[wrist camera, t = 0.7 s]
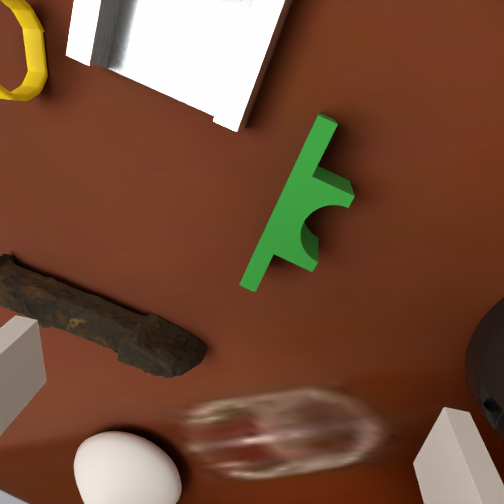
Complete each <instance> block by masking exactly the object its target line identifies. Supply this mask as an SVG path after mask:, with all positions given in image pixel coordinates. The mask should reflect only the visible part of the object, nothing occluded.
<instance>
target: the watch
mask: <svg viewBox="0 0 504 504" xmlns="http://www.w3.org/2000/svg"><path fill="white" fill-rule="evenodd" d="M1 1H2V2H3V3H4V4H6V5H7V6H8V7H9V8H10V9H11V10H12V11H13V13H14V15H15V16H16V18H17V20H18V21H19V23H20V25H21V26H22V28H23V36H24V44H25V51H26V59H27V67H28V72H27V75H26V77H25V79H24V81H23V83H22V85H21V86H20V87H18V88H17V89H15V90H13V91H12V92H9V91H8V90H6V89H5V88H4V87H2V86H1V85H0V98H2V99H9V100H19V101H27V100H28V101H29V100H31V99H32V98H34V97H35V96H36V95H38V94H39V93H40V92H41V91H42V89H43V87H44V84H45V82H46V80H47V78H48V72H47V63H46V54H45V45H44V36H43V32H44V29H43V27H42V25H41V23H40V21H39V20H38V18H37V16H36V14H35V12H34V10H33V9H32V8H31V6H30V5H29V4H28V3H27V2H26V1H25V0H1Z"/></svg>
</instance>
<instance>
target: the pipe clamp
mask: <svg viewBox="0 0 504 504" xmlns="http://www.w3.org/2000/svg"><path fill="white" fill-rule="evenodd" d="M337 125H338V124H337V122H336V121H335V120H334V119H332V118H330V117H328V116H326V115H324V114H321V113H318V115H317V118H316V120H315V122H314V124H313V126H312V128H311V130H310V133H309V135H308V137H307V139H306V141H305V143H304V146H303V148H302V150H301V152H300V154H299V156H298V158H297V161H296V163H295V165H294V167H293V169H292V171H291V173H290V176H289V178H288V180H287V182H286V184H285V186H284V189H283V191H282V193H281V195H280V197H279V199H278V201H277V204H276V206H275V208H274V210H273V212H272V214H271V216H270V219H269V221H268V223H267V225H266V227H265V229H264V232H263V234H262V236H261V238H260V240H259V242H258V244H257V247H256V249H255V251H254V253H253V255H252V257H251V260H250V262H249V264H248V266H247V269H246V271H245V273H244V275H243V278H242V280H241V282H240V284H239V285H240V286H243V287H245V288H247V289H249V290H251V291H253V292H255V291H256V289H257V287H258V285H259V283H260V281H261V279H262V277H263V275H264V273H265V271H266V269H267V267H268V265H269V263H270V261H271V259H272V257H273V255H277V256H279V257H281V258H283V259H285V260H287V261H290V262H292V263H294V264H296V265H298V266H300V267H303V268H305V269H307V270H309V271H311V272H313V270H314V268H315V267H316V265H317V263H318V241H319V237H317V236H315V235H314V234H312V233H311V232H310V231H309V229H308V228H307V226H306V224H305V219H306V218H307V217H308V216H309V215H310V214H311V213H312V212H313V211H315V210H316V209H318V208H321V207H323V206H328V205H340V206H344V207H347V208H349V206H350V204H351V202H352V200H353V199H354V197H355V195H354V192H353V189H352V186H351V183H350V180H347V179H345V178H343V177H341V176H339V175H337V174H334V173H332V172H330V171H328V170H326V169H324V168H321V167H319V166H317V165H318V163H319V161H320V159H321V157H322V155H323V153H324V151H325V149H326V147H327V145H328V143H329V141H330V139H331V137H332V135H333V133H334V131H335V129H336V127H337Z"/></svg>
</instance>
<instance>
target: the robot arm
mask: <svg viewBox="0 0 504 504" xmlns="http://www.w3.org/2000/svg"><path fill="white" fill-rule="evenodd" d="M465 370H466V378H467V382H468V385H469V388H470V390H471V392H472V394H473V396H474V398H475V400H476V402H477V404H478V406H479V408H480V410H481V412H482V414H483V415H484V417H485V419H486V420H487V421H488V423H489V424H490V425H491V427H492V428H493V429H494V430H495V431H496V432H497V433H498V434H499V435H500V436H501V437H502V438H503V439H504V299H503V300H502V301H500V302H499V303H498V304H497V305H496V306H495V307H494V308H493V309H492V310H491V311H490V312H489V313H488V314H487V315H486V316H485V317H484V319H483V320H482V321H481V323H480V324H479V326H478V327H477V329H476V330H475V332H474V334H473V336H472V338H471V341H470V343H469V346H468V350H467V354H466V361H465ZM46 381H47V380H46V373H45V366H44V360H43V353H42V346H41V339H40V332H39V325H38V320H35V319H30V318H25V317H21V316H14V317H13V318H12V319H11V320H10V321H8V322H7V323H6V324H5V325H3V326H2V327H1V328H0V436H1V435H2V433H3V432H4V431H5V430H6V429H7V427H8V426H9V425H10V424H11V423H12V422H13V420H14V419H15V418H16V417H17V416H18V414H19V413H20V412H21V411H22V410H23V409H24V407H25V406H26V405H27V404H28V403H29V401H30V400H31V399H32V398H33V397H34V396H35V394H36V393H37V392H38V391H39V390H40V388H41V387H42V386H43V385H44V384H45V383H46ZM413 464H414V468H415V472H416V476H417V479H418V483H419V487H420V491H421V494H422V498H423V502H424V504H504V485H503V483H502V480H501V478H500V476H499V474H498V472H497V470H496V468H495V466H494V463H493V461H492V459H491V457H490V455H489V453H488V451H487V449H486V446H485V444H484V442H483V440H482V438H481V436H480V434H479V432H478V429H477V427H476V425H475V423H474V421H473V419H472V417H471V415H470V413H469V412H466V411H461V410H456V409H452V408H447V407H444V408H443V410H442V411H441V413H440V415H439V417H438V419H437V421H436V422H435V424H434V426H433V428H432V430H431V431H430V433H429V435H428V437H427V439H426V441H425V442H424V444H423V446H422V448H421V450H420V451H419V453H418V455H417V457H416V459H415V461H414V462H413Z"/></svg>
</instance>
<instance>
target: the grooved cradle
mask: <svg viewBox="0 0 504 504" xmlns="http://www.w3.org/2000/svg"><path fill="white" fill-rule="evenodd" d="M293 1H294V0H74V5H73V12H72V18H71V25H70V31H69V38H68V44H67V51H66V56H69V57H71V58H73V59H75V60H78V61H80V62H82V63H84V64H86V65H89V66H95V67H102V68H108V69H110V70H112V71H115V72H117V73H119V74H121V75H124V76H126V77H128V78H130V79H132V80H135V81H137V82H139V83H141V84H144V85H146V86H148V87H150V88H153V89H155V90H157V91H159V92H162V93H164V94H166V95H168V96H170V97H173V98H175V99H177V100H179V101H182V102H184V103H186V104H188V105H191V106H193V107H195V108H197V109H199V110H202V111H204V112H206V113H208V114H211V115H213V116H215V118H214V122H216V123H218V124H220V125H223V126H225V127H227V128H229V129H232V130H234V131H236V132H237V131H240V130H243V129H245V128H246V126H247V124H248V121H249V118H250V116H251V113H252V110H253V108H254V105H255V102H256V100H257V97H258V94H259V92H260V89H261V86H262V84H263V81H264V78H265V76H266V73H267V70H268V68H269V65H270V62H271V60H272V57H273V54H274V52H275V49H276V46H277V44H278V41H279V38H280V36H281V33H282V30H283V28H284V25H285V22H286V20H287V17H288V14H289V12H290V9H291V6H292V4H293Z"/></svg>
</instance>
